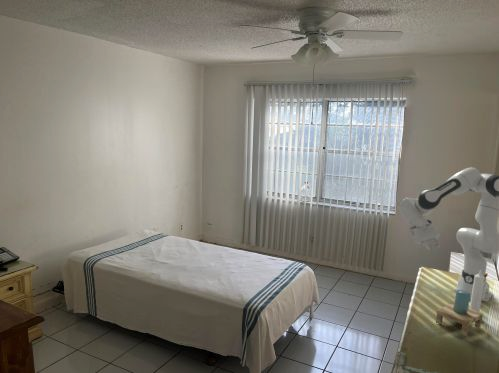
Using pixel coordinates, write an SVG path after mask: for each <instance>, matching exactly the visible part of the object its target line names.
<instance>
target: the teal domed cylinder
mask: <svg viewBox="0 0 499 373" xmlns="http://www.w3.org/2000/svg"><path fill="white" fill-rule="evenodd" d="M470 301H471V299H470V293H469V292H467V291H464V290H457V291H455V298H454V308H453V311H454V312H456V313H458V314H462V315H466V314H467V311H468V308H469V307H470Z"/></svg>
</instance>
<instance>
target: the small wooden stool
mask: <svg viewBox="0 0 499 373" xmlns="http://www.w3.org/2000/svg"><path fill="white" fill-rule="evenodd" d="M454 302H455V301H454ZM454 302H452V303H449V304H447V305H445V306H442V307H440V308H439V309H437V312H436V319H435V324H436V323H438V324H437V325H439V324H441V323H442V324H443V319H444V318H447V319H448V320H451V321H453V322H456V323H458V324H460V325H462V326H461V332H460V335H461V336H464V337H468V333H469V326H470V325H472V324H474V328H477V329H480V328H481V326H482V320H483V313H482V312H477V311H474V310H472V309H470V307H468V311H467V314H466V315H462V314H458V313H456V312H454V311H453V308H454ZM442 324H441V325H442Z"/></svg>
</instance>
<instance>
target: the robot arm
mask: <svg viewBox="0 0 499 373" xmlns="http://www.w3.org/2000/svg"><path fill="white" fill-rule="evenodd" d="M468 191H471V192H476V193H480V194H481V198H480V200H479V203H478V206H477V209H476V211H475V216H474V218H475V221H476V222H477V223H478V224H479V227H480V229H475V228H471V227H461V228H459V229H458V230H457V232H456V234H455V235H456V236H455V238H456V241H457V242H458V243H459V245H460V246H461V249H462V251H463V255H464V256H463V257H464V259H463V260H464V262H463V269H462V271H461V276H459V277H458V279H457V280H458V281H457V285H456V287H454V288H453V290H454V291H455V292H456V291H457V290H464V291H467V292H469V293H470V300H471V296H472V289H473V283H474V276H475V275H477V274H478V273H479V272H480V270H481V273H482V275H483V276H484V277H485V280H484V286H483V293H482V299H481V302H490V300H491V299H492V297H493V295H494V293H493V292H492V291H490V283H488V281H487V277H488V272H487V265H488V262H487V259H486V258H485V257H484V255H482V252H483V253H486V254H492V255H498V254H499V232H498V221H499V174H490V173H481V172H480V170H478V169H477V168H476V167H472V166H471V167H467V168H464V169H462V170H460V171H458V172H456V173H455V174H453V175H452V176H450V177H449V178H448V179H446V181H445V182H443V183H442V184H440V185H439V186H436V187H435V188H430V189H426V190H423V191H422V192H421V193H420V194H419V196H418V198H411V197H405V198H403V199H402V200H400V201H399V202H398V204H397V209H398V211H399V213H400V215H401V217H402V218H403V219H404V220H405V221H406V223H407V226H408V227H409V234H410V236H411V238H412V241H414V243H415V244H416V245H419V244H420V245H422V246H423V247H425V250H426V251H429V250H431V249H432V246H431V245H429V244H428V243H427V242H431V241H432V242H433V243H434V246H435V247H436V248H439V247H441V244H440V241H439V238H440V236H441V234H440V233H439V231H438V229H437V228H436V226H435V225H434V223H433V221H432V220H430V219H427V218H425V217H427V216H429V215H431V214H432V212H433V211H434V210H435V209H436V207H437V206H438V205H439V204H440V203H441V200H442V199H444V198H445V197H447V196H448V195H450V194H451V195H454V196H460V195H462V194H465V193H467V192H468Z"/></svg>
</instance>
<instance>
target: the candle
mask: <svg viewBox="0 0 499 373" xmlns="http://www.w3.org/2000/svg"><path fill="white" fill-rule="evenodd" d="M484 280H485V277H484V276H483V275H482V273H481V270H480V272H479V273H478V274H477V275H475V276H474V283H473V289H472V296H471V299H470V302H469V309H472V310H474V311H477V312H479V313H481V305H482V301H481V299H482V293H483V286H484Z"/></svg>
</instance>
